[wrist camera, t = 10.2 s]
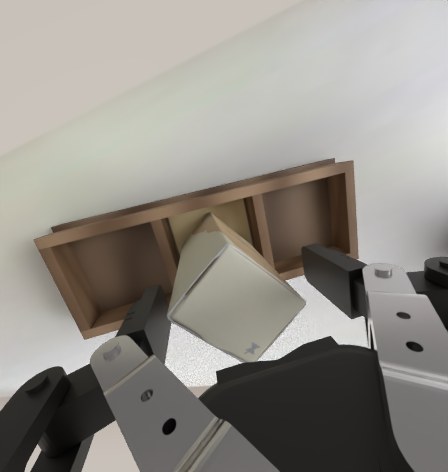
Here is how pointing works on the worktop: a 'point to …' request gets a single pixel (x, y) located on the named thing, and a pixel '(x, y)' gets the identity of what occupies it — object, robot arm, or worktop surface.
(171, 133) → the worktop surface
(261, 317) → the box
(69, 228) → the tray
